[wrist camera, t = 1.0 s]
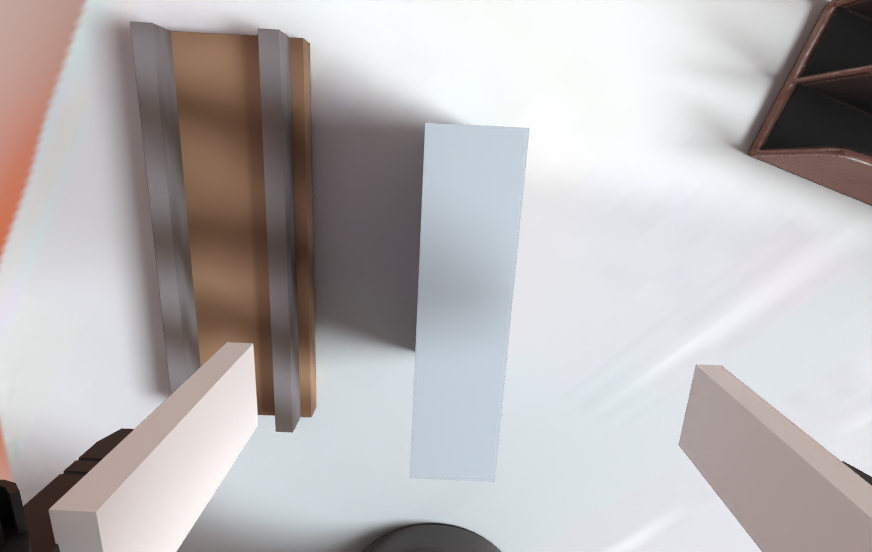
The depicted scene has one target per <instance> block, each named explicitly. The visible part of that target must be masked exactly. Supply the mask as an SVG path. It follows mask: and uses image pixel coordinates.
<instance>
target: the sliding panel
mask: <svg viewBox="0 0 872 552" xmlns="http://www.w3.org/2000/svg"><path fill="white" fill-rule="evenodd" d="M528 138H529V128H517V127H498V126H479V125H460V124H441V123H425V139H424V163H423V186H422V209H421V233H420V256H419V280H418V303H417V326H416V350H415V373H414V396H413V420H412V443H411V467H410V478H429V479H450V480H470V481H491V482H494V481H495V471H496V461H497V451H498V441H499V431H500V421H501V411H502V401H503V390H504V380H505V370H506V360H507V350H508V340H509V330H510V320H511V310H512V299H513V289H514V279H515V269H516V259H517V249H518V239H519V229H520V219H521V209H522V198H523V188H524V178H525V168H526V158H527V148H528Z"/></svg>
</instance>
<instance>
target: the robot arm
mask: <svg viewBox="0 0 872 552" xmlns="http://www.w3.org/2000/svg"><path fill="white" fill-rule="evenodd" d="M257 426H258V412H257V396H256V380H255V364H254V348H253V343H235V342H227V343H226V344H225V345H224V346H223V347H222V348H220V349H219V350H218V351H217V352H216V353H215V354H214V355H213V356H212V357H211V358H210V359H209V360H208V361H207V362H206V363H204V364H203V365H202V366H201V367H200V368H199V369H198V370H197V371H196V372H195V373H194V374H193V375H192V376H191V377H190V378H188V379H187V380H186V381H185V382H184V383H183V384H182V385H181V386H180V387H179V388H178V389H177V390H176V391H175V392H174V393H172V394H171V395H170V396H169V397H168V398H167V399H166V400H165V401H164V402H163V403H162V404H161V405H160V406H159V407H158V408H156V409H155V410H154V411H153V412H152V413H151V414H150V415H149V416H148V417H147V418H146V419H145V420H144V421H143V422H142V423H140V424H139V425H138V426H137V427H136V428H135V429H120V430H118V431H116V432H115V433H113V434H111V435H109V436H107V437H105V438H103V439H102V440H100V441H98V442H96V443H95V444H94V445H93V446H92V447H91V448H90V449H88V450H87V451H86V452H85V453H84V454H83V455H82V456H80V457H79V460H78V461H75V462H74V463H72V464H71V465H70V466H69V467H68V468H67V469H66V470H64V473H63V474H60V475H59V476H58V477H56V478H55V479H54V480H53V481H52V482H51V483H50V484H48V485H47V486H46V487H45V488H44V489H43V490H41V491H40V492H39V493H38V494H37V495H36V496H35V497H33V498H32V499H31V500H30V501H29V502H28V503H27V504H25V505H24V506H23V505H22V500H21V496H20V491H19V489H18V487H17V485H16V483H13V482H10V481H6V480H0V552H177V550H178V549H179V547H180V546H181V544H182V542H183V541H184V539H185V538H186V536H187V535H188V533H189V532H190V530H191V528H192V527H193V525H194V524H195V522H196V521H197V519H198V518H199V516H200V515H201V513H202V511H203V510H204V508H205V507H206V505H207V504H208V502H209V501H210V499H211V498H212V496H213V494H214V493H215V491H216V490H217V488H218V487H219V485H220V484H221V482H222V480H223V479H224V477H225V476H226V474H227V473H228V471H229V470H230V468H231V467H232V465H233V463H234V462H235V460H236V459H237V457H238V456H239V454H240V453H241V451H242V449H243V448H244V446H245V445H246V443H247V442H248V440H249V439H250V437H251V436H252V434H253V432H254V431H255V429H256V428H257ZM679 446H680V447H681V449H682V450H683V451H684V453H685V454H686V455H687V456H688V458H689V459H690V460H691V461H692V463H693V464H694V465H695V467H696V468H697V469H698V470H699V472H700V473H701V474H702V476H703V477H704V478H705V479H706V481H707V482H708V483H709V484H710V486H711V487H712V488H713V490H714V491H715V492H716V493H717V495H718V496H719V497H720V499H721V500H722V501H723V502H724V504H725V505H726V506H727V507H728V509H729V510H730V511H731V513H732V514H733V515H734V516H735V518H736V519H737V520H738V522H739V523H740V524H741V525H742V527H743V528H744V529H745V530H746V532H747V533H748V534H749V536H750V537H751V538H752V539H753V541H754V542H755V543H756V545H757V546H758V547H759V548H760V550H761V551H762V552H872V477H871V476H869V475H867V474H865V473H864V472H862V471H860V470H858V469H856V468H855V467H853V466H851V465H849V464H847V463H845V462H844V461H840V460H839V459H838V458H836V457H835V456H834V455H833V454H831V453H830V452H829V451H828V450H826V449H825V448H824V447H823V446H821V445H820V444H819V443H818V442H816V441H815V440H814V439H813V438H811V437H810V436H809V435H808V434H806V433H805V432H804V431H803V430H801V429H800V428H799V427H798V426H796V425H795V424H794V423H793V422H791V421H790V420H789V419H788V418H786V417H785V416H784V415H783V414H781V413H780V412H779V411H778V410H776V409H775V408H774V407H773V406H771V405H770V404H769V403H768V402H766V401H765V400H764V399H763V398H761V397H760V396H759V395H758V394H756V393H755V392H754V391H753V390H751V389H750V388H749V387H748V386H746V385H745V384H744V383H743V382H741V381H740V380H739V379H738V378H736V377H735V376H734V375H733V374H731V373H730V372H729V371H728V370H726V369H725V368H724V367H723V366H715V365H696V366H695V371H694V376H693V380H692V385H691V390H690V394H689V399H688V404H687V408H686V413H685V417H684V422H683V427H682V431H681V436H680V441H679ZM364 552H501V551H500V550H499V549H498V548H497V547H496V546H494V545H493V544H492V543H490V542H489V541H487V540H486V539H484V538H483V537H481V536H479V535H477V534H475V533H472V532H470V531H467V530H464V529H461V528H457V527H452V526H446V525H417V526H411V527H407V528H403V529H400V530H397V531H394V532H391V533H389V534H387V535H385V536H383V537H381V538H380V539H378V540H377V541H375V542H374V543H372V544H371V545H370V546H369V547H368V548H367V549H366V550H365V551H364Z"/></svg>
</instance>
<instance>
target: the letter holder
mask: <svg viewBox="0 0 872 552" xmlns="http://www.w3.org/2000/svg"><path fill="white" fill-rule="evenodd" d="M748 155H750V156H751V157H754V158H757V159H759V160H762V161H764V162H767V163H769V164H771V165H774V166H776V167H779V168H781V169H784V170H786V171H788V172H791V173H794V174H796V175H798V176H801V177H803V178H806V179H808V180H811V181H813V182H816V183H818V184H820V185H823V186H825V187H827V188H830V189H833V190H835V191H837V192H840V193H842V194H845V195H847V196H850V197H852V198H855V199H857V200H860V201H862V202H864V203H867V204H869V205H872V0H833V1H831V2H830V3H828V4H827V5H826V7H825V9H824V10H823V12H822V14H821V16H820V18H819V20H818V21H817V23H816V25H815V27H814V29H813V31H812V32H811V34H810V36H809V38H808V40H807V42H806V44H805V45H804V47H803V49H802V51H801V53H800V55H799V57H798V59H797V61H796V63H795V64H794V66H793V68H792V70H791V72H790V74H789V76H788V78H787V80H786V81H785V84H784V86H783V87H782V89H781V91H780V93H779V95H778V96H777V98H776V101H775V103H774V104H773V106H772V108H771V110H770V112H769V114H768V115H767V117H766V119H765V122H764V123H763V125H762V126H761V129H760V131H759V133H758V135H757V137H756V138H755V140H754V142H753V144H752V146H751V148H750V150H749V153H748Z"/></svg>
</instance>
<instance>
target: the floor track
mask: <svg viewBox="0 0 872 552" xmlns="http://www.w3.org/2000/svg"><path fill="white" fill-rule="evenodd" d="M130 27H131V36H132V45H133V54H134V63H135V72H136V81H137V90H138V100H139V109H140V118H141V127H142V136H143V145H144V154H145V164H146V173H147V182H148V191H149V200H150V209H151V218H152V227H153V237H154V246H155V255H156V264H157V273H158V282H159V291H160V300H161V310H162V319H163V328H164V337H165V346H166V355H167V364H168V374H169V383H170V392H171V394H172V393H174V392H175V391H176V390H177V389H178V388H179V387H180V386H181V385H182V384H183V383H184V382H185V381H186V380H187V379H188V378H190V377H191V376H192V375H193V374H194V373H195V372H196V371H197V370H198V369H199V368H200V367H201V366H202V365H203V364H204V363H206V362H207V361H208V360H209V359H210V358H211V357H212V356H213V355H214V354H215V353H216V352H217V351H218V350H219V349H220V348H222V347H223V346H224V345H225V344H226V343H227V342H235V343H253V348H254V364H255V380H256V396H257V412H258V415H275V424H276V432H293V431H294V429H295V427H296V425H297V423H298V421H299V419H300V417H312V415H313V413H314V410H315V408H316V363H315V309H314V255H313V200H312V146H311V92H310V43H309V42H307V41H306V40H305V39H303V38H290V37H288V36H287V35H286V34H284V33H283V32H281V31H280V30H273V29H258V36H252V35H234V34H216V33H197V32H179V31H169V30H167V29H165V28H162V27H160V26H158V25H155V24H153V23H145V22H130Z"/></svg>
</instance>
